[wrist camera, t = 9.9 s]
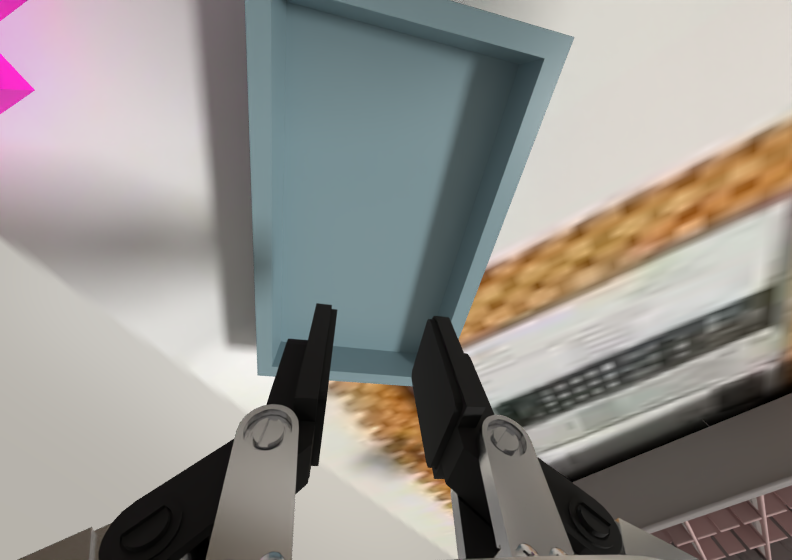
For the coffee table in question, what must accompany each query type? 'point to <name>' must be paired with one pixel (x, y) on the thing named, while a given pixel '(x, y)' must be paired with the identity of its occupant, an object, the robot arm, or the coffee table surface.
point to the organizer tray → (711, 488)
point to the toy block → (11, 68)
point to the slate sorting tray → (383, 166)
